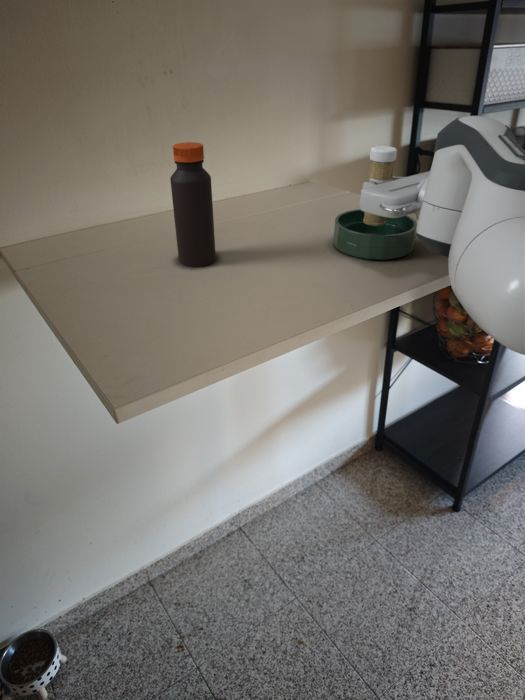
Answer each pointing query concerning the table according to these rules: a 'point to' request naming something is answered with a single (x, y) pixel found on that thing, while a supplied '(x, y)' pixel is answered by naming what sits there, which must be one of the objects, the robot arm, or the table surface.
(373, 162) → the sprinkles bottle
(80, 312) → the table surface
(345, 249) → the green faceted bowl
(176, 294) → the table surface
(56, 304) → the table surface
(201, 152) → the vinegar
